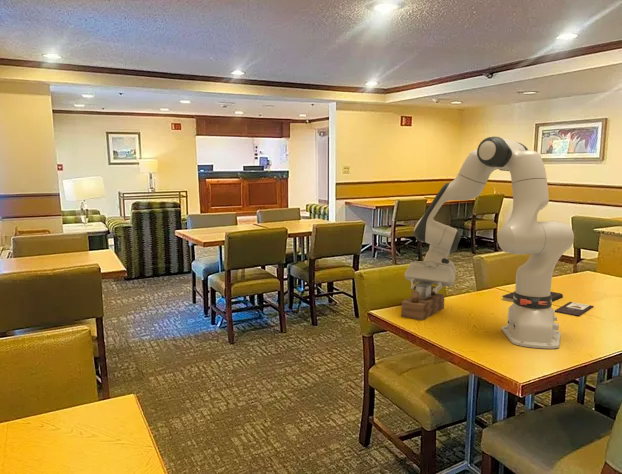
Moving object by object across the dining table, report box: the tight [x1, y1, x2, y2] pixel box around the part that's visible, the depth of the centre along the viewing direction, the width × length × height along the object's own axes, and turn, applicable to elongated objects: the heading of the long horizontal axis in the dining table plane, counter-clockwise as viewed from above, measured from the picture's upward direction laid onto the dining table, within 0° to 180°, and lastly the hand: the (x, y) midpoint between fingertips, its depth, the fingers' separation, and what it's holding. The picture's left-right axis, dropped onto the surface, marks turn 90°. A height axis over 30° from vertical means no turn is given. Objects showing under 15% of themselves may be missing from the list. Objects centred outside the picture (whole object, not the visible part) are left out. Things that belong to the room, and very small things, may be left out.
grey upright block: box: [415, 281, 433, 301], centre depth 189 cm, size 5×4×9 cm
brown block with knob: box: [401, 285, 445, 321], centre depth 190 cm, size 20×9×10 cm, turn 141°
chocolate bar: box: [554, 301, 594, 318], centre depth 191 cm, size 9×1×18 cm
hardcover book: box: [501, 291, 564, 303], centre depth 208 cm, size 16×23×2 cm
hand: (423, 291), depth 189 cm, fingers open, 8 cm apart
